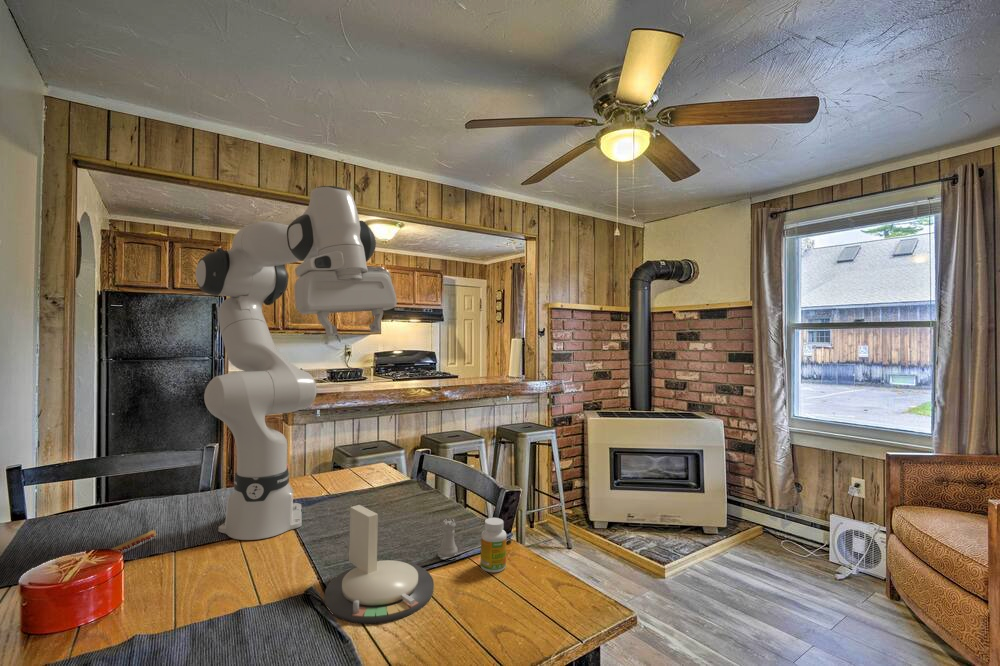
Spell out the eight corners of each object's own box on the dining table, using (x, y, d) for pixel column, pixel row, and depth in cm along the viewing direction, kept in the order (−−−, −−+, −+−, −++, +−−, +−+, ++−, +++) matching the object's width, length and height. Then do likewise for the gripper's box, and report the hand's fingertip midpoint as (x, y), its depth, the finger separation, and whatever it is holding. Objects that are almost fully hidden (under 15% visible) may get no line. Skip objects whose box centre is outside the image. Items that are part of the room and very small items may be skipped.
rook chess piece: (454, 562, 101) (455, 525, 102) (434, 560, 102) (435, 523, 102) (460, 553, 106) (461, 517, 106) (441, 551, 107) (442, 515, 107)
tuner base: (304, 591, 89) (305, 575, 89) (394, 556, 104) (394, 542, 104) (361, 639, 75) (361, 620, 75) (455, 592, 90) (455, 576, 90)
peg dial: (320, 578, 91) (322, 514, 91) (382, 554, 101) (384, 497, 101) (377, 622, 78) (379, 548, 78) (443, 590, 88) (444, 525, 88)
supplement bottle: (491, 576, 96) (492, 528, 96) (475, 565, 100) (476, 520, 100) (511, 567, 100) (512, 521, 100) (494, 558, 104) (495, 514, 104)
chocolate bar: (96, 562, 99) (97, 552, 99) (149, 538, 111) (149, 529, 111) (106, 564, 98) (107, 553, 98) (158, 539, 110) (159, 530, 110)
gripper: (380, 270, 103) (391, 332, 103) (286, 268, 89) (297, 341, 88) (396, 262, 99) (407, 327, 98) (299, 259, 84) (311, 335, 83)
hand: (354, 333), depth 93 cm, fingers open, 8 cm apart
